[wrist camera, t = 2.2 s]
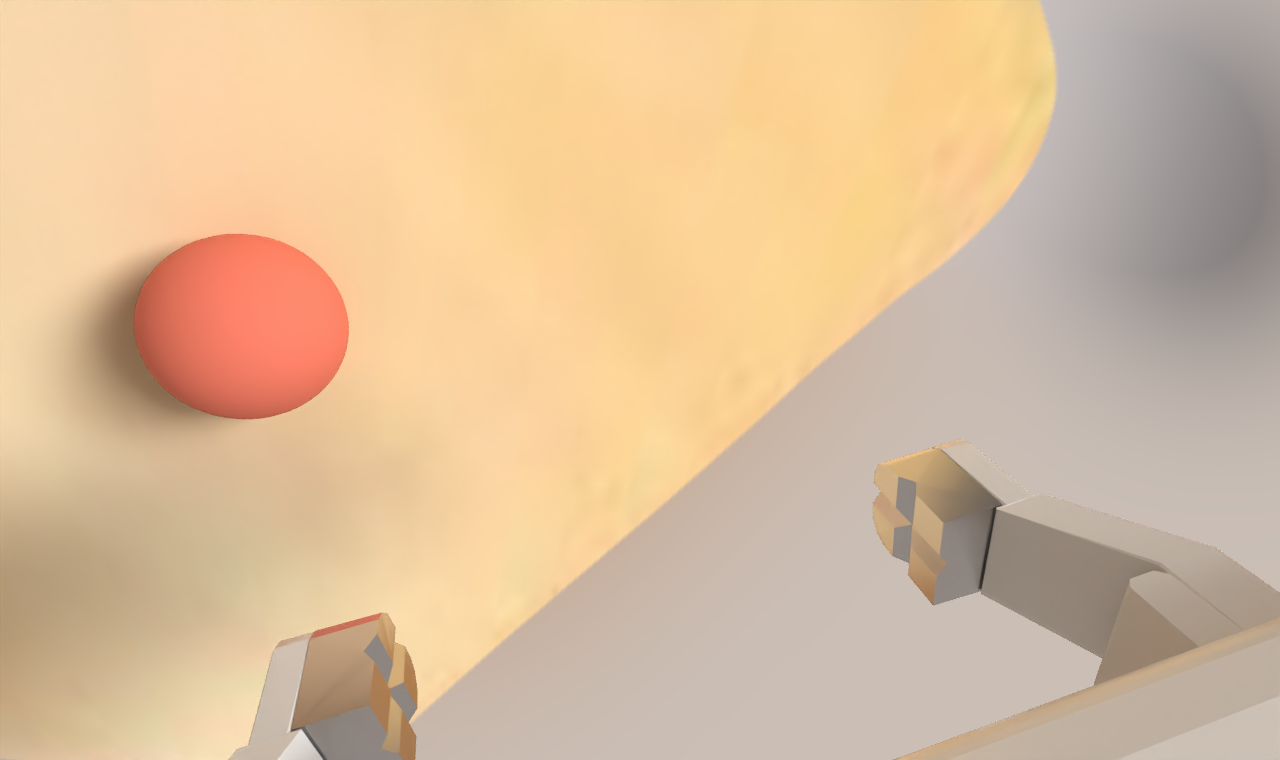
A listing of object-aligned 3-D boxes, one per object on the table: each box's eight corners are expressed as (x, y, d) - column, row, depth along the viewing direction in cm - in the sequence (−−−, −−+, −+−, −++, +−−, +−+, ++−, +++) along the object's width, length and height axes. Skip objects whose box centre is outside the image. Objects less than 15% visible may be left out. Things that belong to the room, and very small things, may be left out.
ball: (220, 383, 25) (167, 477, 20) (136, 233, 22) (49, 300, 17) (379, 345, 26) (366, 426, 21) (320, 195, 23) (289, 249, 18)
